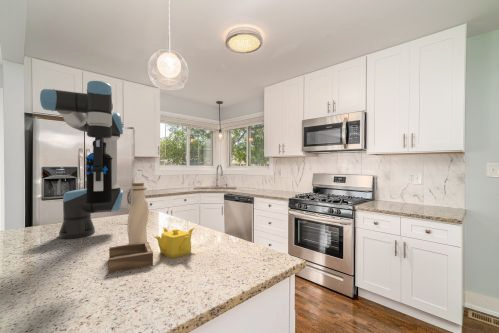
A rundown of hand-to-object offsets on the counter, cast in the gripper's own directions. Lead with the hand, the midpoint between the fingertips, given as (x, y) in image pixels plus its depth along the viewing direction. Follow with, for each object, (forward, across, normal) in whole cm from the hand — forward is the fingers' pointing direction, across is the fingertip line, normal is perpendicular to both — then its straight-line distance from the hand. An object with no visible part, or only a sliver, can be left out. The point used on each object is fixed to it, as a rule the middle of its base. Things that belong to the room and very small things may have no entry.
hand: (99, 189), depth 87 cm
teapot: (+28, -2, +27) cm, 39 cm away
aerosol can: (+4, 0, 0) cm, 4 cm away
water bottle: (+28, -22, +13) cm, 38 cm away
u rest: (+28, 0, +10) cm, 29 cm away
